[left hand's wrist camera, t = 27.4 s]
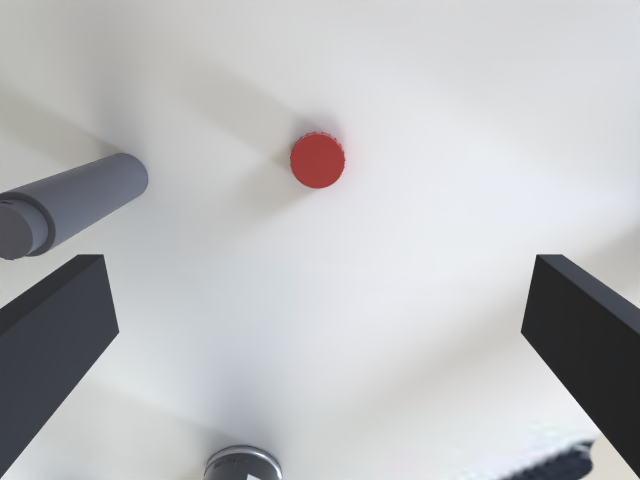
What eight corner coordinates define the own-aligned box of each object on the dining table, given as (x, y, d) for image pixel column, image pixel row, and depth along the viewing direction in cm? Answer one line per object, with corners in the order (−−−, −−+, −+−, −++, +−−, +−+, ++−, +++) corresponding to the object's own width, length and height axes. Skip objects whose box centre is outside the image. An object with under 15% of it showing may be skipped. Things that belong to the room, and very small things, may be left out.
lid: (325, 195, 38) (325, 199, 37) (280, 166, 37) (279, 169, 36) (354, 151, 37) (356, 154, 35) (309, 120, 36) (309, 122, 34)
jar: (102, 150, 37) (-40, 192, 22) (148, 157, 37) (38, 204, 23) (103, 194, 38) (-29, 260, 24) (147, 201, 39) (44, 271, 24)
